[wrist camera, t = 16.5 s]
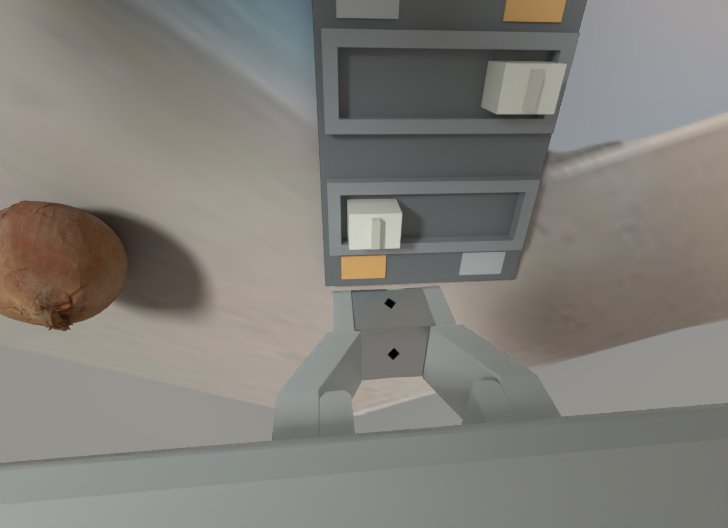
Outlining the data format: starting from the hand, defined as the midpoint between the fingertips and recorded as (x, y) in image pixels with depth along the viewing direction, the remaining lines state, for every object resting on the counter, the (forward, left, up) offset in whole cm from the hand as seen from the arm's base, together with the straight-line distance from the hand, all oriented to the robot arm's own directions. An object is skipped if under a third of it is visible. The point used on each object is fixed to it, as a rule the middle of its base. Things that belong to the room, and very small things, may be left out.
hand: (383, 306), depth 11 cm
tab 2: (-4, +12, -20) cm, 24 cm away
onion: (+8, -22, -22) cm, 32 cm away
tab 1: (+6, +2, -20) cm, 21 cm away
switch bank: (+1, +7, -22) cm, 23 cm away
